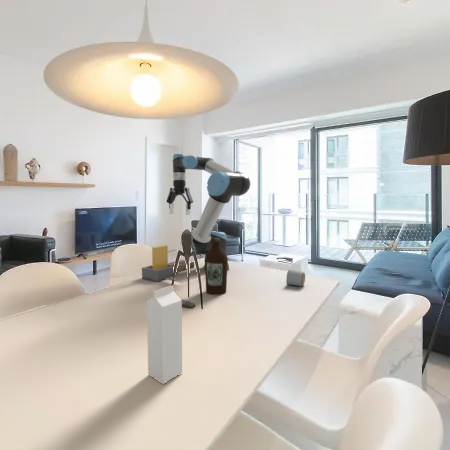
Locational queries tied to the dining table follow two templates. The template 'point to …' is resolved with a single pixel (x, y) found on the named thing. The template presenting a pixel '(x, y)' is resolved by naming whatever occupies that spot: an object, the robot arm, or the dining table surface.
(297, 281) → the grey cylinder
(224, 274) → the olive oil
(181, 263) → the dispenser
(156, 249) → the yellow rectangular slab
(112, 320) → the dining table surface
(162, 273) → the bin
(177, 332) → the milk
